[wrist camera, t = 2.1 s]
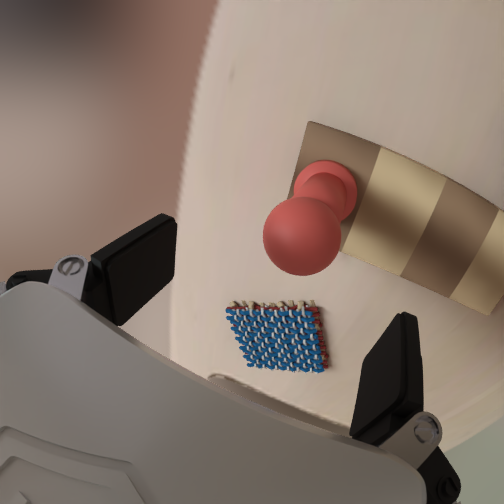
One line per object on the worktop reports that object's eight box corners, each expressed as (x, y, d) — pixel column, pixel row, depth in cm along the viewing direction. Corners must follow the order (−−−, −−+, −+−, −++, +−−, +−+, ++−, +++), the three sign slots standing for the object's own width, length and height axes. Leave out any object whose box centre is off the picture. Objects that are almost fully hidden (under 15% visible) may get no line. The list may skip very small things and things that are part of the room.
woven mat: (331, 364, 31) (328, 377, 29) (253, 359, 36) (247, 370, 34) (320, 295, 27) (315, 308, 25) (228, 297, 32) (220, 307, 30)
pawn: (306, 151, 19) (253, 187, 11) (365, 172, 18) (362, 228, 10) (291, 205, 22) (234, 275, 14) (345, 226, 21) (323, 312, 13)
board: (310, 121, 19) (307, 121, 18) (531, 231, 14) (537, 237, 13) (283, 222, 24) (279, 227, 23) (484, 308, 19) (487, 316, 18)
